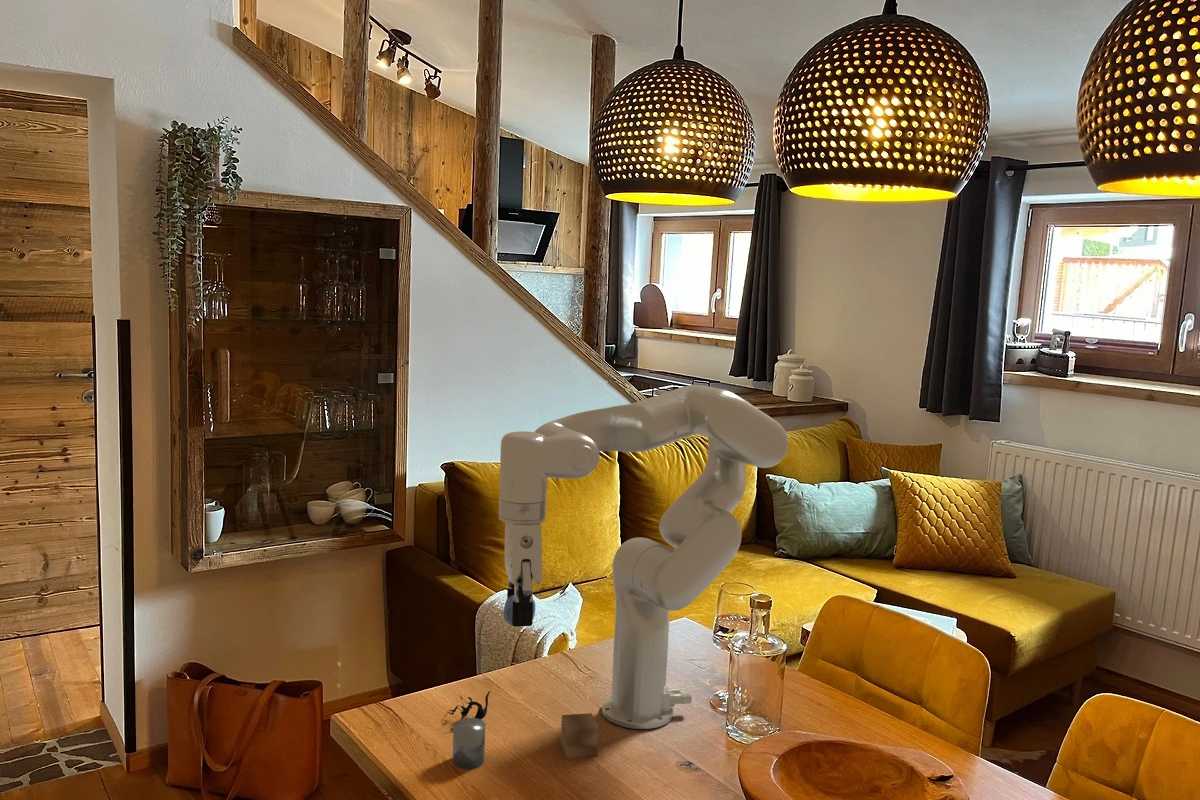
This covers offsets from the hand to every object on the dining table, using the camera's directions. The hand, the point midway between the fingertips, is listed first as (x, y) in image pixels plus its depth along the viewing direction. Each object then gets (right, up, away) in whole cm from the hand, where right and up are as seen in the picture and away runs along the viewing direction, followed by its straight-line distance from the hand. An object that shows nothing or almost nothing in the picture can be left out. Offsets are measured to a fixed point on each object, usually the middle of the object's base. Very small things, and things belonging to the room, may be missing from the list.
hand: (519, 617), depth 152 cm
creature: (-10, -20, +9) cm, 24 cm away
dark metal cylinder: (-8, -22, -4) cm, 23 cm away
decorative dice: (0, -1, 0) cm, 1 cm away
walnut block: (+10, -22, +1) cm, 24 cm away
